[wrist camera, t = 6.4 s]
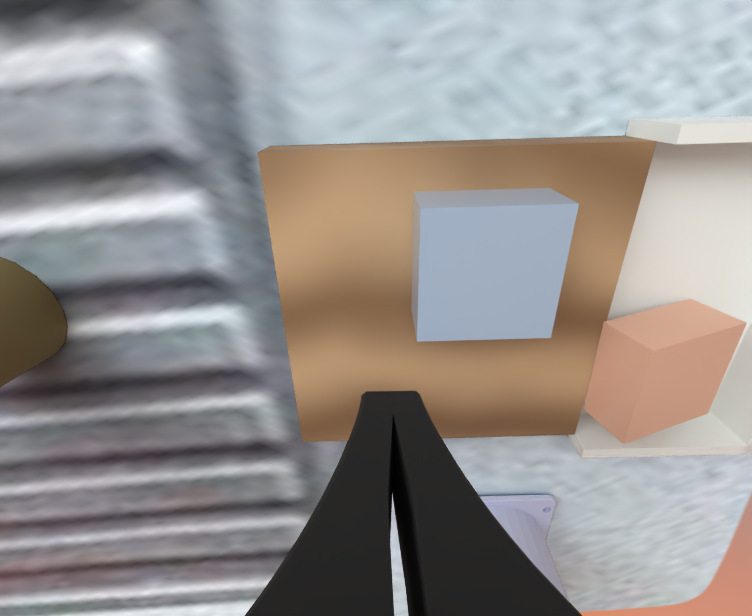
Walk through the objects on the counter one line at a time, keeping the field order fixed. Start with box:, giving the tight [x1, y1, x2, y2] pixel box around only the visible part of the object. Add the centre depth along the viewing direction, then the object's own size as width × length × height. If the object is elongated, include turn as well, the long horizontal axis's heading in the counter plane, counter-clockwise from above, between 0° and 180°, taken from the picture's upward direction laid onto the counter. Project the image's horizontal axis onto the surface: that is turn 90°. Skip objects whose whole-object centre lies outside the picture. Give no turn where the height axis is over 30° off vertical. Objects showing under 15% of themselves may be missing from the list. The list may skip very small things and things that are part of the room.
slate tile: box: [411, 188, 579, 342], centre depth 15 cm, size 5×5×2 cm
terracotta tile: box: [583, 299, 747, 444], centre depth 18 cm, size 5×5×2 cm
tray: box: [568, 115, 752, 458], centre depth 18 cm, size 15×9×3 cm, turn 1°
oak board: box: [258, 136, 657, 442], centre depth 18 cm, size 14×14×2 cm
